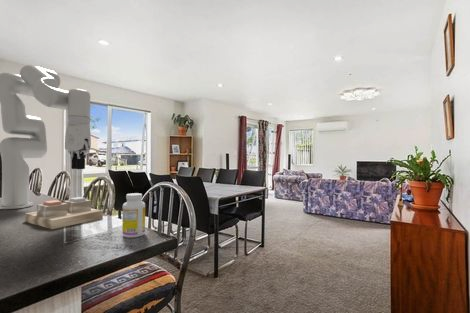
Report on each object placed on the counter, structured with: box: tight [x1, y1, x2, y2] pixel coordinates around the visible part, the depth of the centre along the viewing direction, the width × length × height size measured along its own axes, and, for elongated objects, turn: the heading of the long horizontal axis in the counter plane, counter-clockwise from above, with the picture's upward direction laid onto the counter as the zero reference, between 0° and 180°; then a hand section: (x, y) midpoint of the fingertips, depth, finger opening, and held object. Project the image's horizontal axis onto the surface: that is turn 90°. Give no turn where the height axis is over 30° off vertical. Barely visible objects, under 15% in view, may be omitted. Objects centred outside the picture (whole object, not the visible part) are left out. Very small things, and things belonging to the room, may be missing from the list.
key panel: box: [24, 198, 104, 230], centre depth 98 cm, size 18×18×7 cm
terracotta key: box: [42, 199, 63, 206], centre depth 94 cm, size 4×4×3 cm
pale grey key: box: [68, 196, 87, 202], centre depth 102 cm, size 4×4×3 cm
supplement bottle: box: [121, 192, 146, 239], centre depth 82 cm, size 7×7×13 cm
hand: (78, 168), depth 102 cm, fingers closed
